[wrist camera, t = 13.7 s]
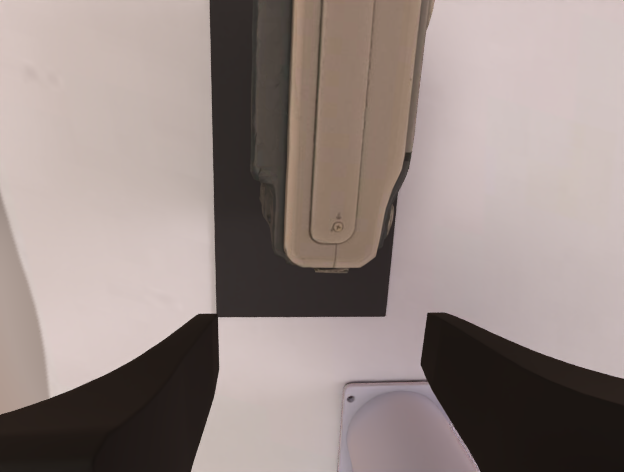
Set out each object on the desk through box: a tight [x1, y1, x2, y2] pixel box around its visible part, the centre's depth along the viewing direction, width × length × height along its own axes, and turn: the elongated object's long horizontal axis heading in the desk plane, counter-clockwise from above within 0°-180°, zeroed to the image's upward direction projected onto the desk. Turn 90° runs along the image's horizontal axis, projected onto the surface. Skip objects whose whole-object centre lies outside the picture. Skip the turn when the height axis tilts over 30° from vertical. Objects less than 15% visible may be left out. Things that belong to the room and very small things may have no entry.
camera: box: [251, 0, 435, 273], centre depth 15 cm, size 11×6×10 cm, turn 175°
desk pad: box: [210, 0, 398, 317], centre depth 20 cm, size 20×11×1 cm, turn 177°
